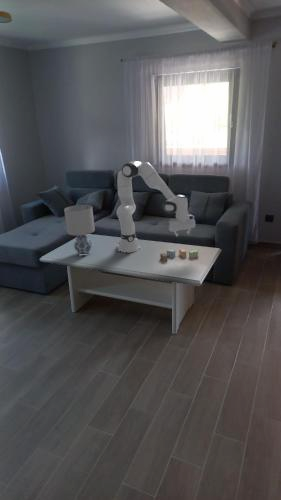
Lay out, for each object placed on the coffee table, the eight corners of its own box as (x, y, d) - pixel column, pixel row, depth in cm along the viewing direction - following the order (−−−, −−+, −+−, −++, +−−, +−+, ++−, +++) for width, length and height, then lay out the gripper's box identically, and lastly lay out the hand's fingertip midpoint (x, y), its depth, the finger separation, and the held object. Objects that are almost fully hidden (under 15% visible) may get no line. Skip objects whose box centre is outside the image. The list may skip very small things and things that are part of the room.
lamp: (93, 258, 269) (88, 210, 256) (67, 259, 271) (60, 211, 259) (99, 249, 289) (94, 204, 276) (74, 249, 292) (68, 205, 279)
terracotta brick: (179, 254, 265) (179, 249, 264) (182, 254, 266) (182, 248, 265) (182, 257, 260) (182, 251, 258) (186, 256, 261) (186, 251, 259)
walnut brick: (160, 259, 260) (160, 253, 258) (164, 258, 261) (164, 252, 259) (163, 261, 254) (163, 256, 253) (167, 261, 255) (167, 255, 254)
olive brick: (190, 258, 257) (190, 252, 256) (189, 257, 260) (188, 251, 258) (198, 256, 259) (198, 251, 258) (196, 255, 262) (196, 250, 260)
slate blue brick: (166, 255, 265) (166, 250, 264) (168, 254, 267) (168, 249, 266) (173, 257, 261) (172, 251, 260) (175, 256, 263) (175, 250, 262)
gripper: (170, 220, 247) (171, 238, 252) (196, 216, 253) (196, 234, 258) (167, 218, 253) (168, 236, 257) (192, 214, 259) (192, 232, 263)
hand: (182, 235), depth 257 cm, fingers open, 8 cm apart
